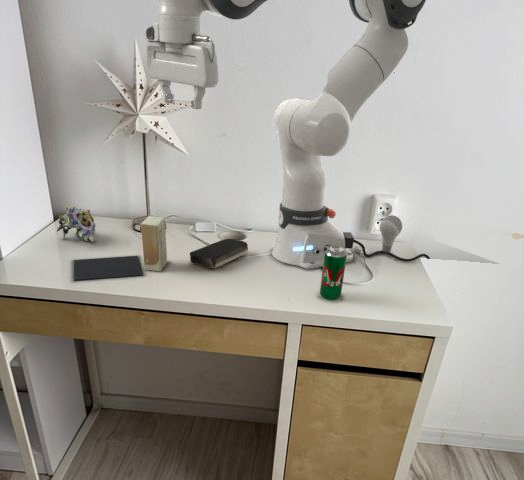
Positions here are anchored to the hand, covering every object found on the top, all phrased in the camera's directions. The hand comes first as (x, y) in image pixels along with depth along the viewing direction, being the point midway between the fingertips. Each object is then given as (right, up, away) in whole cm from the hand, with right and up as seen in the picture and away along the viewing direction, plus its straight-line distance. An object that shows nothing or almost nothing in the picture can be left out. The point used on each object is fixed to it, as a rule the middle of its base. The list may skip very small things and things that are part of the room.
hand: (182, 105), depth 115 cm
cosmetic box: (-10, -33, +18) cm, 39 cm away
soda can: (+34, -42, +9) cm, 55 cm away
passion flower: (-34, -24, +30) cm, 52 cm away
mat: (-21, -34, +16) cm, 43 cm away
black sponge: (+6, -30, +24) cm, 39 cm away
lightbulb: (+53, -27, +34) cm, 68 cm away
